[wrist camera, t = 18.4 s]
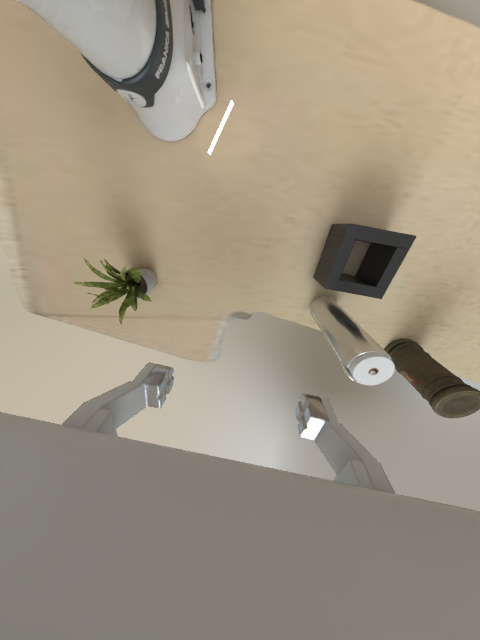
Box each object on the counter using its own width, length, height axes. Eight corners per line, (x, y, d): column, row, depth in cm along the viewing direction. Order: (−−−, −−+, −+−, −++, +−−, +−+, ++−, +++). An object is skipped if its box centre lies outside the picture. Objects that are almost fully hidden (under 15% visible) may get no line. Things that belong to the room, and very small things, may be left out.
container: (398, 333, 50) (462, 383, 34) (425, 345, 51) (500, 399, 35) (375, 357, 55) (422, 411, 39) (400, 367, 55) (457, 425, 39)
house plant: (133, 233, 45) (74, 236, 31) (181, 267, 48) (147, 285, 34) (116, 278, 51) (59, 298, 37) (160, 306, 54) (123, 336, 40)
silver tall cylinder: (314, 293, 48) (361, 351, 25) (339, 297, 48) (407, 360, 25) (306, 315, 51) (341, 384, 29) (329, 319, 51) (383, 392, 28)
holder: (331, 224, 40) (349, 223, 32) (385, 234, 40) (416, 236, 32) (313, 277, 46) (324, 288, 38) (360, 286, 46) (381, 299, 38)
